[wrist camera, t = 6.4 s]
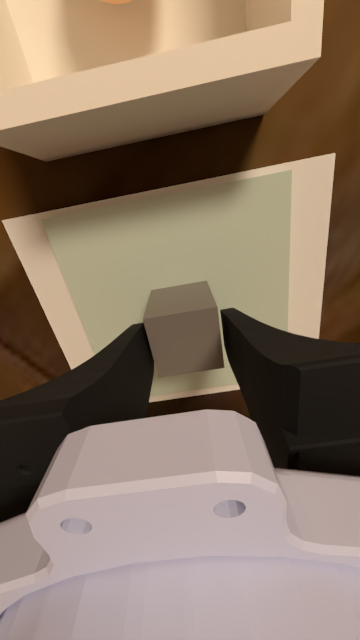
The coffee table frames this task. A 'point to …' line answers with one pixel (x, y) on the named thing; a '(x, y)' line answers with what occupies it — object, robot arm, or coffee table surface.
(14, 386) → the coffee table surface
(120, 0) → the egg
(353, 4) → the coffee table surface
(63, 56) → the cream square tray
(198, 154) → the coffee table surface
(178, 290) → the lid
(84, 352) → the mat
